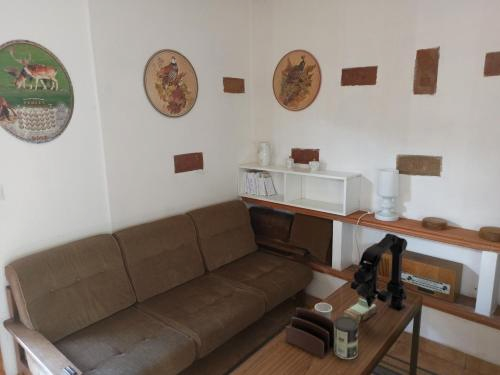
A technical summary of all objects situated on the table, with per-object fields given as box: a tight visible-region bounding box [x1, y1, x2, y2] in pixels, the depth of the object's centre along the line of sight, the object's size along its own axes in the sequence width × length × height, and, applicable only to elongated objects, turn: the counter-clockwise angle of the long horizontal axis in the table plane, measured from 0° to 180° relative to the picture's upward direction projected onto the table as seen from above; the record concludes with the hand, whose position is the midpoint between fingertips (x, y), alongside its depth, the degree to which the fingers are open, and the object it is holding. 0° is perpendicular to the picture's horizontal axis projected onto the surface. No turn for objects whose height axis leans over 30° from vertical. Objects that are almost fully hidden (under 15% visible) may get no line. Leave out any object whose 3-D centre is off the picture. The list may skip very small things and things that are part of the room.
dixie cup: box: [314, 302, 333, 320], centre depth 175 cm, size 8×8×10 cm
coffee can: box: [333, 315, 360, 360], centre depth 155 cm, size 10×10×14 cm
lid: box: [350, 297, 376, 316], centre depth 184 cm, size 12×8×4 cm, turn 129°
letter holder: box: [285, 307, 334, 359], centre depth 161 cm, size 10×20×14 cm, turn 49°
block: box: [343, 308, 361, 324], centre depth 179 cm, size 4×7×5 cm, turn 39°
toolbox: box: [347, 301, 378, 323], centre depth 184 cm, size 12×9×4 cm
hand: (369, 306), depth 169 cm, fingers closed
